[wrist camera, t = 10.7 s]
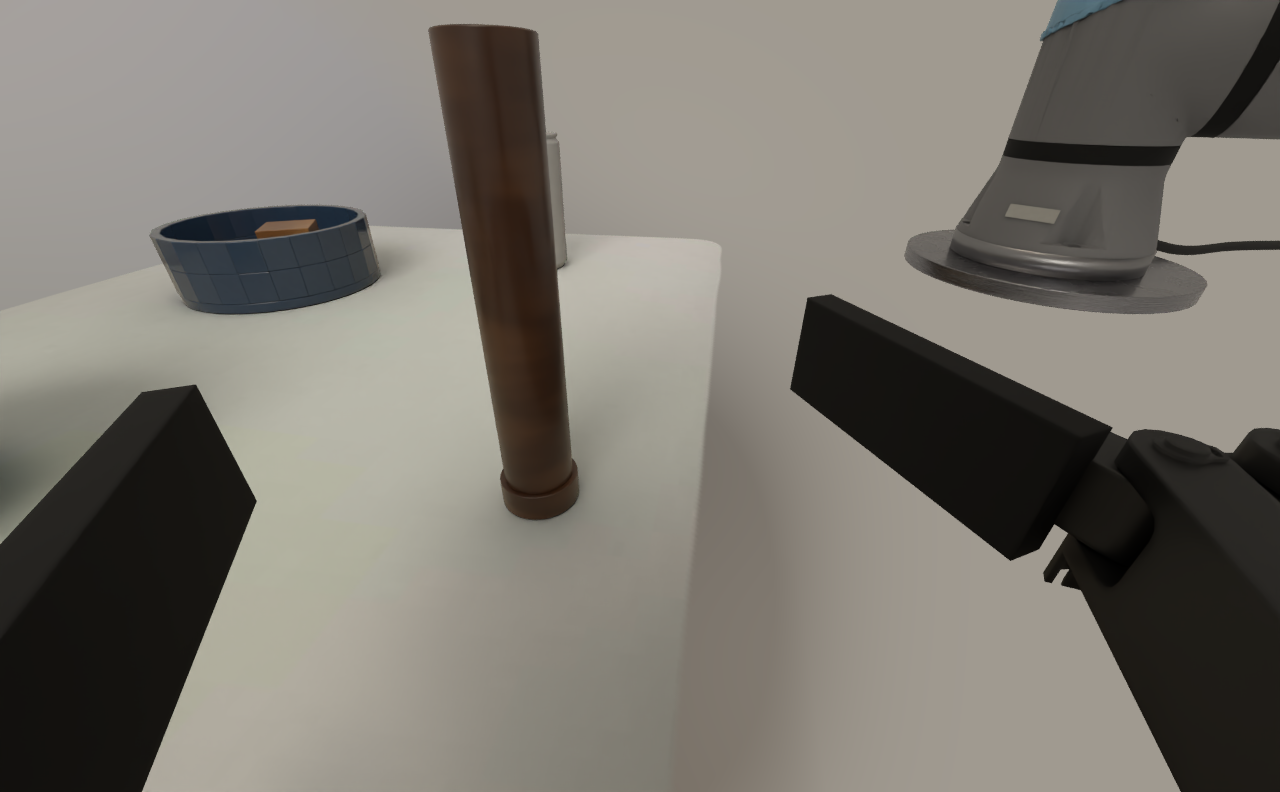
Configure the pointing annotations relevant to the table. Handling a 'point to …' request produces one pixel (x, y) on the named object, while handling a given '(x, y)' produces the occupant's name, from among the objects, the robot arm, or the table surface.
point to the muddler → (510, 251)
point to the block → (286, 228)
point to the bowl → (267, 258)
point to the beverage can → (556, 197)
